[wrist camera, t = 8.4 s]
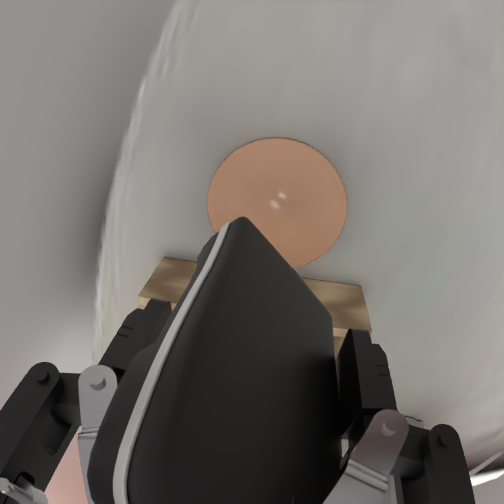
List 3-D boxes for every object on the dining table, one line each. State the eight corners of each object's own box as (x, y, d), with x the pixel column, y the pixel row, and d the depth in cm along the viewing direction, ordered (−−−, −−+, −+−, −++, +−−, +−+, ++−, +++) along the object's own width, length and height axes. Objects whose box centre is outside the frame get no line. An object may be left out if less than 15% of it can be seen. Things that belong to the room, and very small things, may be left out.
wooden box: (361, 286, 25) (371, 331, 20) (322, 383, 32) (322, 423, 27) (163, 257, 26) (138, 296, 21) (174, 360, 33) (160, 398, 28)
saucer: (357, 150, 19) (359, 152, 19) (330, 271, 25) (330, 277, 24) (213, 130, 20) (210, 132, 19) (208, 254, 25) (206, 259, 25)
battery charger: (177, 253, 14) (46, 505, 4) (241, 204, 12) (112, 545, 2) (273, 345, 16) (242, 565, 6) (336, 315, 14) (343, 568, 4)
